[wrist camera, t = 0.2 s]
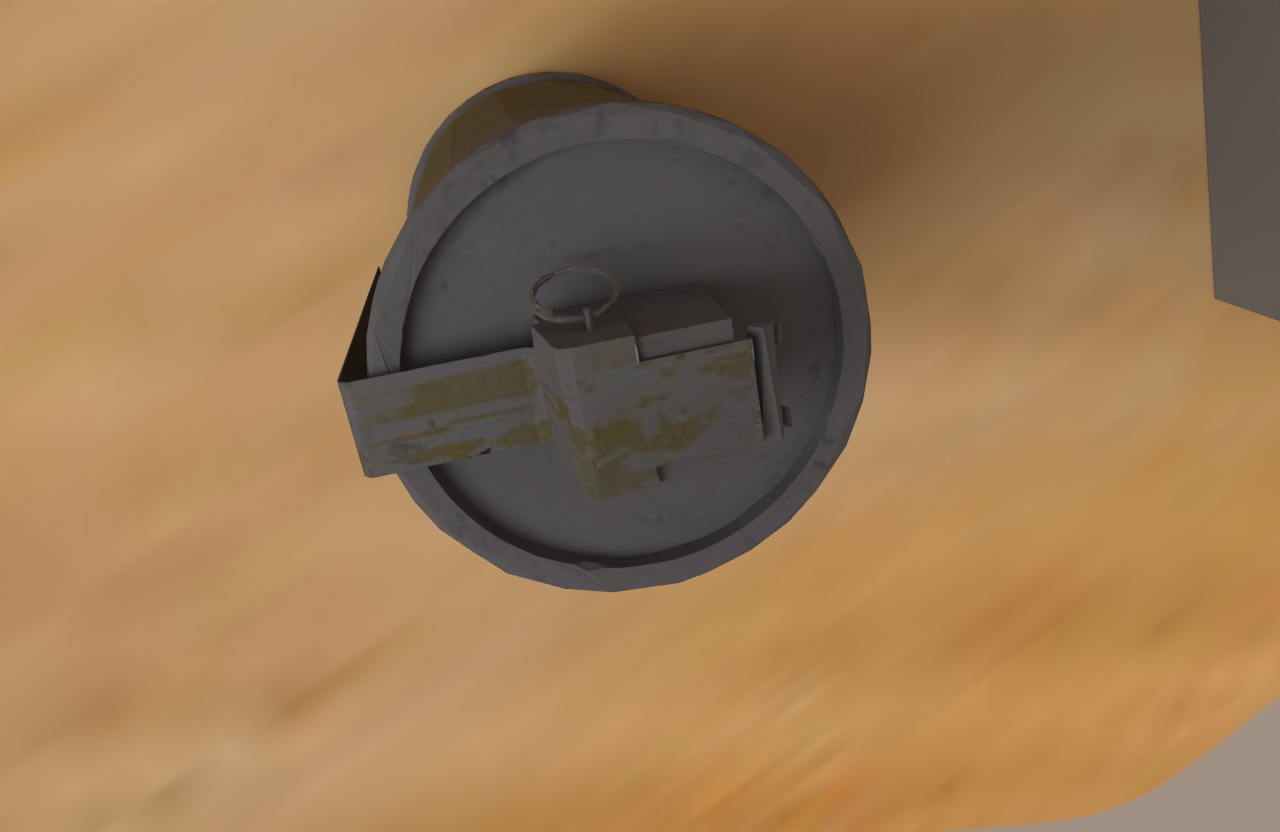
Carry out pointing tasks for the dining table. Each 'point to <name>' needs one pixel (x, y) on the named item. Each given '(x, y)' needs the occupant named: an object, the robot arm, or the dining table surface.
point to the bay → (1243, 149)
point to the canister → (608, 337)
